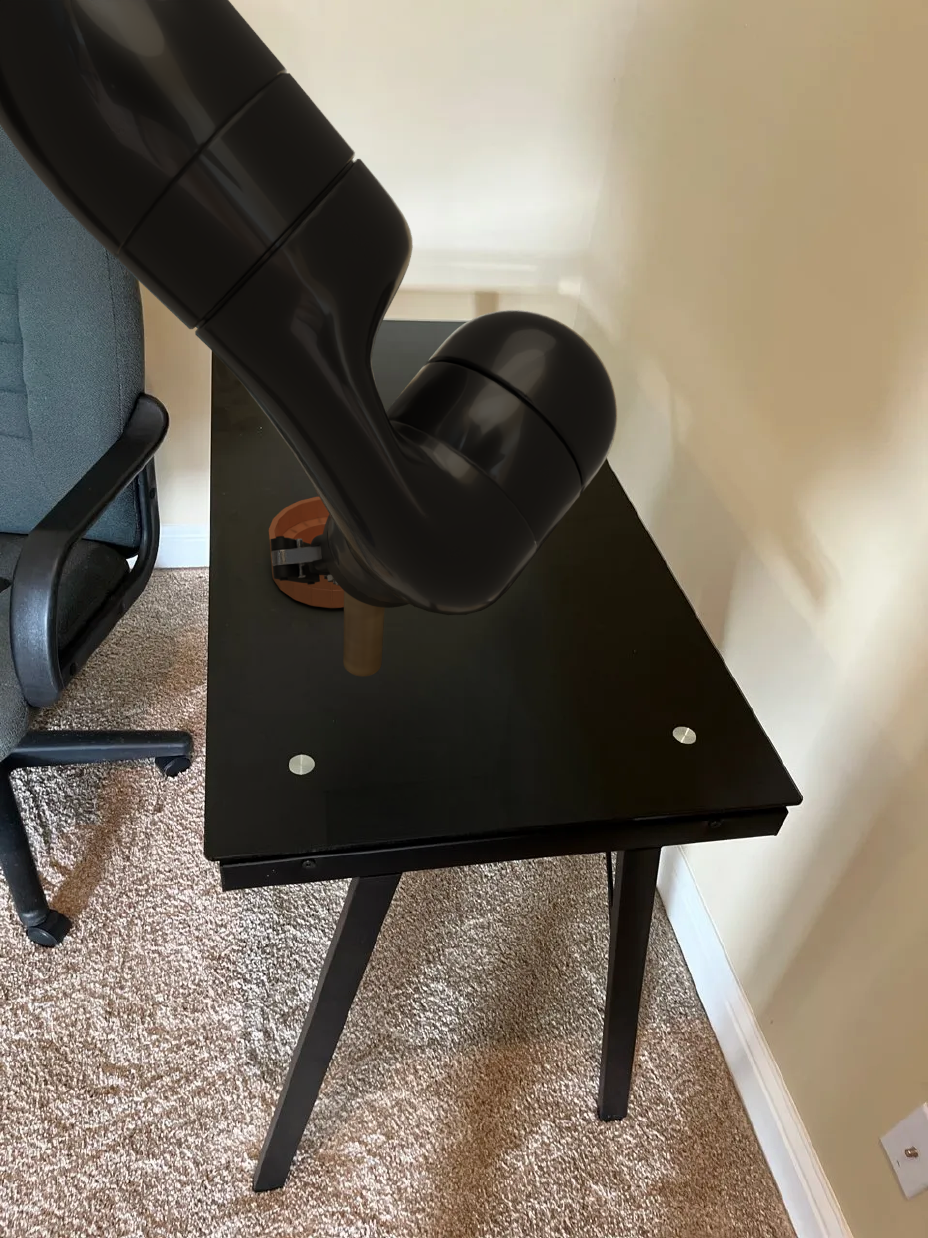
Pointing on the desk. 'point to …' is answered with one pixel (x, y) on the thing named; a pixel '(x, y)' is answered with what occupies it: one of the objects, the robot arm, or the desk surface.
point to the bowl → (306, 525)
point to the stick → (362, 637)
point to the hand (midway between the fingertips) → (360, 568)
